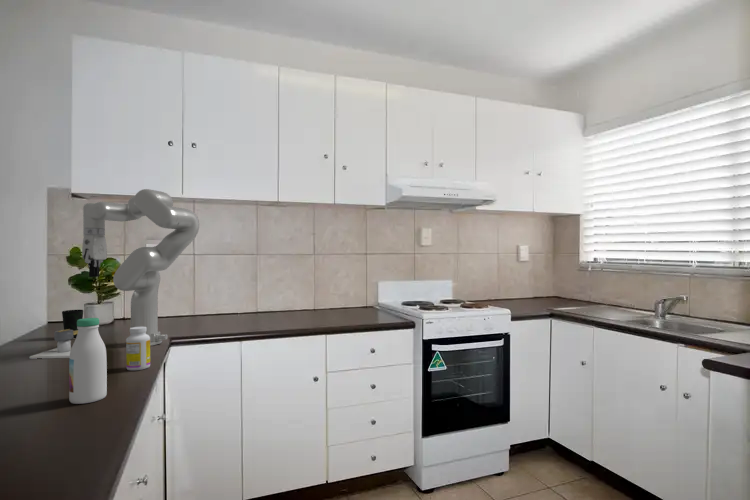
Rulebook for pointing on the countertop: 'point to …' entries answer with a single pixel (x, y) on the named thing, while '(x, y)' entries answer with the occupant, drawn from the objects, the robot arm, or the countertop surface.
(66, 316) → the cup
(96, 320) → the milk bottle
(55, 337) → the grey yellow elongated block
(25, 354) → the countertop surface
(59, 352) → the base plate
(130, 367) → the supplement bottle
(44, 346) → the countertop surface
